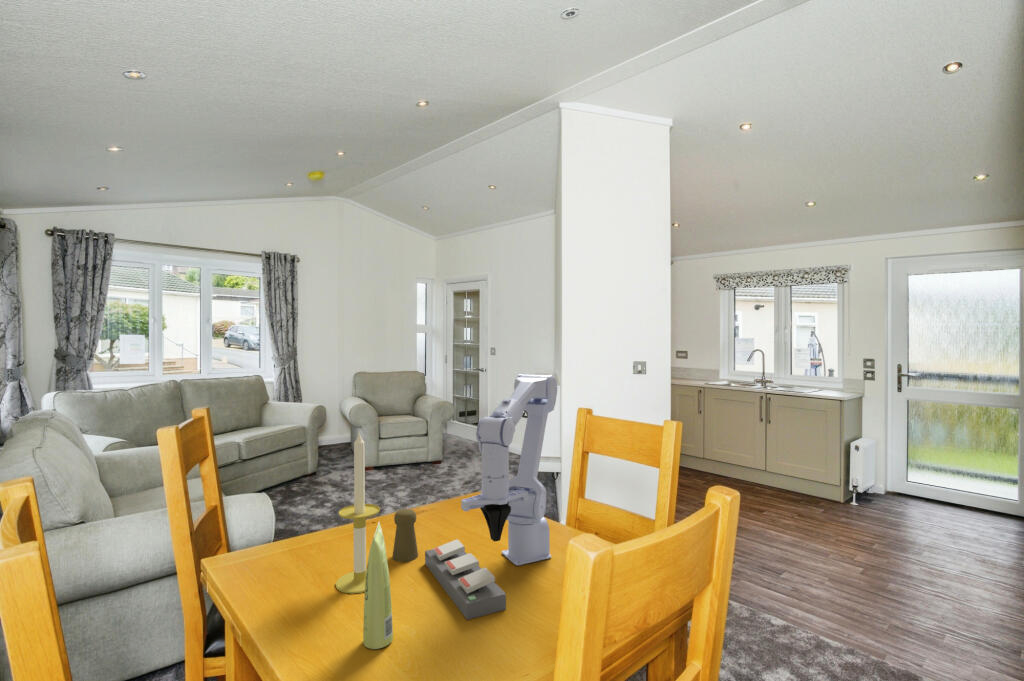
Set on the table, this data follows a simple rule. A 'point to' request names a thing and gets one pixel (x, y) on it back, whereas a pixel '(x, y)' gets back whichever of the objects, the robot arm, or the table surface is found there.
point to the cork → (405, 536)
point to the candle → (357, 524)
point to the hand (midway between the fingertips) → (495, 539)
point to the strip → (471, 603)
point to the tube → (377, 596)
